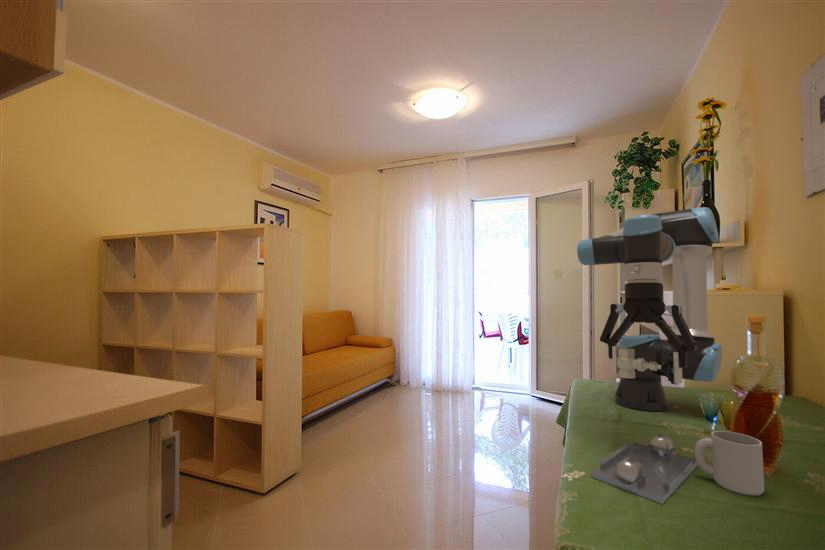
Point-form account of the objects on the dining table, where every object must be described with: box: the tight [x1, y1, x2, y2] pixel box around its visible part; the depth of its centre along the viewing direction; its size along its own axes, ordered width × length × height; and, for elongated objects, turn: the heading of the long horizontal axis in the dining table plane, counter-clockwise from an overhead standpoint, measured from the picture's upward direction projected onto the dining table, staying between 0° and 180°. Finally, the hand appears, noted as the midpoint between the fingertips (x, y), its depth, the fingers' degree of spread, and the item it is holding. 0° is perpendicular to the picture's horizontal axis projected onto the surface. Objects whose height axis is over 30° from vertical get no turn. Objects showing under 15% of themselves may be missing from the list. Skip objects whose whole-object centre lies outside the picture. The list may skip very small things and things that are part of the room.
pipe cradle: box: [590, 433, 699, 505], centre depth 74 cm, size 23×12×5 cm, turn 130°
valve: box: [616, 348, 678, 386], centre depth 82 cm, size 7×7×12 cm
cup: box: [693, 430, 765, 497], centre depth 69 cm, size 7×10×9 cm
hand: (645, 378), depth 82 cm, fingers closed on valve, 12 cm apart
